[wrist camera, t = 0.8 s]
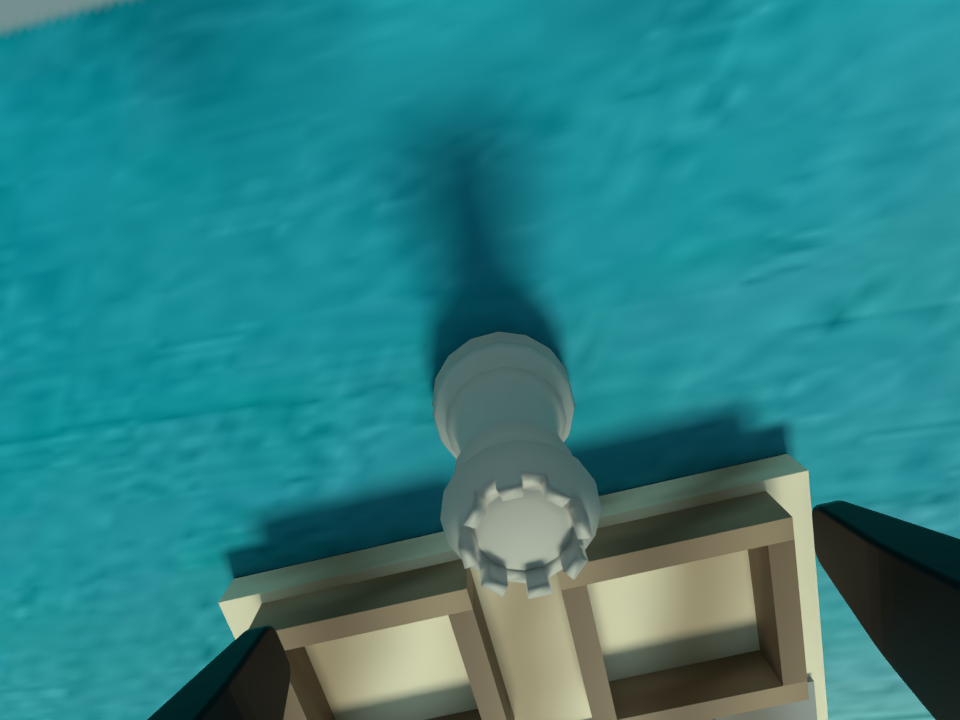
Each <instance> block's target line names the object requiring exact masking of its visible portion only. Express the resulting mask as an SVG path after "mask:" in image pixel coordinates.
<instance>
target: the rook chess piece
mask: <svg viewBox="0 0 960 720" xmlns="http://www.w3.org/2000/svg"><path fill="white" fill-rule="evenodd" d="M432 405H433V417H434V420H435V424H436V427H437V430H438V433H439V436H440V439H441V441H442V443H443V444H444V445H445V446H446V447H447V449H448V450H449V451H450V452H451V453H452V454H453V455H454V457H455V458H456V465H455V472H454V475H453V477H452V479H451V480H450V482H449V484H448V485H447V487H446V488H445V490H444V492H443V500H442V508H441V516H440V521H441V524H442V527H443V530H444V533H445V536H446V539H447V542H448V545H449V546H450V547H451V548H452V550H453V551H454V552H455V553H456V554H457V555H458V556H459V557H460V558H461V559H462V562H463V565H464V568H465V569H466V568H469V567H471V568H473V569H475V570H477V571H479V572H480V577H481V587H483V588H485V589H487V590H490V591H492V592H494V593H496V594H498V595H500V596H502V597H503V596H504V593H505V591H506V588H507V586H508V581H510V582H520V583H526V587H527V594H528V599H532V598H536V597H540V596H544V595H549V594H553V590H552V585H551V581H550V577H551V576H553V575H554V574H556V573H557V572H559V571H561V570H562V569H563V572H564V573H566V574H567V575H568V576H570V577H571V578H572V579H574V580H575V578H576V577H577V576H578V574H579V573H580V572H581V570H582V569H583V567H584V566H585V565H586V563H587V562H588V558H587V555H586V552H585V549H586V548H587V547H588V545H589V544H590V542H591V541H592V540H593V538H594V537H595V536H596V531H597V527H598V522H599V518H600V513H601V509H602V508H601V504H600V499H599V495H598V491H597V486H596V482H595V480H594V479H593V478H592V476H591V475H590V474H589V472H588V471H587V470H586V469H585V467H584V466H583V465H582V464H581V462H580V461H579V460H578V459H577V458H576V457H574V456H572V453H571V451H570V450H569V449H568V447H567V446H566V445H565V443H564V441H565V440H566V438H567V437H568V435H569V433H570V428H571V423H572V417H573V412H574V407H575V403H574V399H573V395H572V390H571V386H570V382H569V379H568V376H567V371H566V369H565V368H564V366H563V365H562V364H561V362H560V361H559V360H558V358H557V357H556V356H555V354H554V353H553V352H552V350H551V349H550V348H548V347H546V346H545V345H543V344H541V343H539V342H538V341H536V340H534V339H532V338H530V337H529V336H527V335H522V334H514V333H505V332H495V333H491V334H487V335H483V336H480V337H476V338H472V339H470V340H469V341H467V342H466V343H465V344H463V345H462V346H461V347H459V348H458V349H457V350H455V351H454V352H453V353H451V354H450V355H449V356H448V358H447V359H446V361H445V363H444V364H443V366H442V368H441V370H440V371H439V373H438V375H437V376H436V378H435V385H434V394H433V402H432Z"/></svg>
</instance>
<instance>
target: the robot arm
mask: <svg viewBox="0 0 960 720" xmlns="http://www.w3.org/2000/svg"><path fill="white" fill-rule="evenodd" d="M812 520H813V533H814V545H815V552H816V555H817V558H818V560H819V562H820V564H821V566H822V567H823V569H824V570H825V572H826V573H827V575H828V576H829V578H830V579H831V580H832V582H833V583H834V585H835V586H836V588H837V589H838V591H839V592H840V594H841V595H842V597H843V598H844V600H845V601H846V603H847V604H848V605H849V607H850V608H851V610H852V611H853V613H854V614H855V616H856V617H857V619H858V620H859V622H860V623H861V625H862V626H863V628H864V629H865V631H866V632H867V633H868V635H869V636H870V638H871V639H872V641H873V642H874V644H875V645H876V646H877V648H878V649H879V651H880V652H881V653H882V655H883V656H884V657H885V659H886V660H887V661H888V662H889V664H890V665H891V666H892V667H893V669H894V670H895V671H896V672H897V674H898V675H899V676H900V677H901V678H902V680H903V681H904V682H905V683H906V684H907V686H908V687H909V688H910V689H911V690H912V692H913V693H914V694H915V695H916V697H917V698H918V699H919V700H920V701H921V703H922V704H923V705H924V706H925V707H926V709H927V710H928V711H929V712H930V713H931V715H932V716H933V717H934V718H935V720H960V539H958V538H955V537H952V536H949V535H946V534H943V533H940V532H936V531H933V530H930V529H927V528H924V527H921V526H918V525H915V524H912V523H909V522H906V521H903V520H900V519H897V518H894V517H891V516H888V515H885V514H882V513H878V512H875V511H872V510H869V509H866V508H863V507H860V506H857V505H854V504H851V503H848V502H845V501H833V502H829V503H824V504H820V505H816V506H815V507H814V508H813V511H812ZM290 680H291V666H290V662H289V659H288V657H287V654H286V652H285V650H284V648H283V645H282V643H281V641H280V638H279V636H278V634H277V632H276V630H275V628H274V627H272V626H270V625H265V626H261V627H256V628H251V629H248V630H246V631H245V632H243V633H242V634H241V635H240V636H239V637H238V638H237V639H236V640H235V641H233V642H232V643H231V644H230V645H229V646H228V647H227V648H226V649H225V650H224V651H222V652H221V653H220V654H219V655H218V656H217V657H216V658H215V659H214V660H213V661H211V662H210V663H209V664H208V665H207V666H206V667H205V668H204V669H203V670H201V671H200V672H199V673H198V674H197V675H196V676H195V677H194V678H193V679H192V680H190V681H189V682H188V683H187V684H186V685H185V686H184V687H183V688H182V689H181V690H179V691H178V692H177V693H176V694H175V695H174V696H173V697H172V698H171V699H170V700H168V701H167V702H166V703H165V704H164V705H163V706H162V707H161V708H160V709H159V710H157V711H156V712H155V713H154V714H153V715H152V716H151V717H150V718H149V719H147V720H283V719H284V714H285V708H286V702H287V697H288V691H289V685H290Z"/></svg>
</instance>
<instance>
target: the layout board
mask: <svg viewBox="0 0 960 720" xmlns="http://www.w3.org/2000/svg"><path fill="white" fill-rule="evenodd" d="M599 499H600V504H601V508H602V509H601V513H600V518H599V522H598V527H597V531H596V536H595V537H594V538H593V540H592V541H591V542H590V544H589V545H588V547H587V548H586V549H585V552H586V555H587V558H588V562H587V563H586V565H585V566H584V567H583V569H582V570H581V572H580V573H579V574H578V576H577V577H576V578H575V580H574V579H572V578H571V577H570V576H568V575H567V574H566V573H564V572H563V569H562V570H561V571H559V572H557V573H556V574H554V575H553V576H551V577H550V581H551V585H552V590H553V594H549V595H544V596H540V597H536V598H532V599H528V594H527V587H526V583H520V582H510V581H508V586H507V588H506V591H505V593H504V596H503V597H502V596H500V595H498V594H496V593H494V592H492V591H490V590H487V589H485V588H483V587H481V577H480V572H479V571H477V570H475V569H473V568H471V567H469V568H466V569H465V568H464V565H463V562H462V559H461V558H460V557H459V556H458V555H457V554H456V553H455V552H454V551H453V550H452V548H451V547H450V546H449V545H448V542H447V539H446V536H445V533H444V531H443V532H439V533H434V534H430V535H425V536H421V537H417V538H412V539H408V540H403V541H399V542H395V543H390V544H386V545H381V546H377V547H372V548H368V549H364V550H359V551H355V552H350V553H346V554H341V555H337V556H333V557H328V558H324V559H319V560H315V561H311V562H306V563H302V564H297V565H293V566H288V567H284V568H280V569H275V570H271V571H266V572H262V573H258V574H253V575H249V576H244V577H240V578H235V579H233V580H232V582H231V583H230V585H229V587H228V588H227V590H226V591H225V593H224V595H223V596H222V598H221V599H220V601H219V605H220V607H221V609H222V612H223V614H224V616H225V618H226V620H227V622H228V624H229V627H230V629H231V631H232V633H233V635H234V637H235V639H237V638H238V637H239V636H240V635H241V634H242V633H243V632H245V631H246V630H248V629H251V628H256V627H261V626H265V625H270V626H272V627H274V628H275V630H276V632H277V634H278V636H279V638H280V641H281V643H282V645H283V648H284V650H285V652H286V654H287V657H288V659H289V662H290V666H291V680H290V685H289V691H288V697H287V702H286V708H285V714H284V719H283V720H828V713H827V701H826V688H825V675H824V663H823V650H822V638H821V625H820V612H819V600H818V587H817V574H816V562H815V549H814V536H813V524H812V511H811V499H810V486H809V473H808V470H807V469H806V468H804V467H803V466H802V465H801V464H799V463H798V462H797V461H796V460H794V459H793V458H792V457H791V456H789V455H788V454H784V455H779V456H775V457H770V458H766V459H761V460H757V461H753V462H748V463H744V464H739V465H735V466H731V467H726V468H722V469H717V470H713V471H708V472H704V473H700V474H695V475H691V476H686V477H682V478H677V479H673V480H669V481H664V482H660V483H655V484H651V485H647V486H642V487H638V488H633V489H629V490H624V491H620V492H616V493H611V494H607V495H602V496H599Z"/></svg>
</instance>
